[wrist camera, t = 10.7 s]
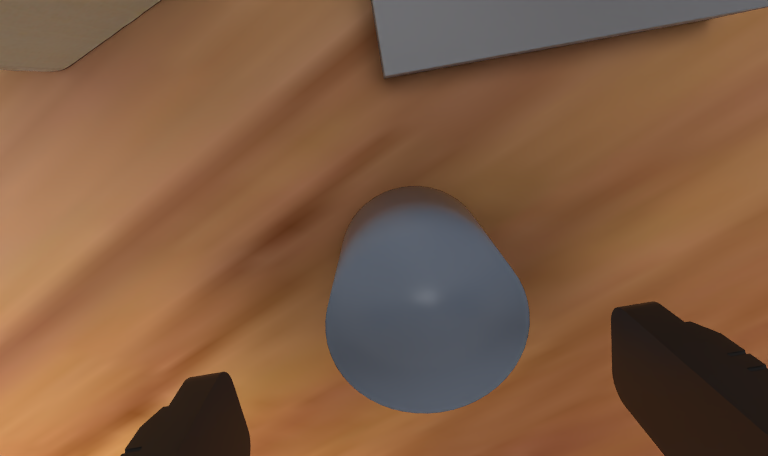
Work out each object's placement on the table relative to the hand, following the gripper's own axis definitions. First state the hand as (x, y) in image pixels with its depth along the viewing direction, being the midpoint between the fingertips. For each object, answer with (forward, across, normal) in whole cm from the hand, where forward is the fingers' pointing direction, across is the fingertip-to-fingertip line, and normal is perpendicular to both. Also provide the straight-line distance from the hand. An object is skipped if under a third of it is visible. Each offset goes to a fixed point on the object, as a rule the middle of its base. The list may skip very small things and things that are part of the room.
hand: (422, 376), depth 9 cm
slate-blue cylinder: (+7, 0, 0) cm, 7 cm away
